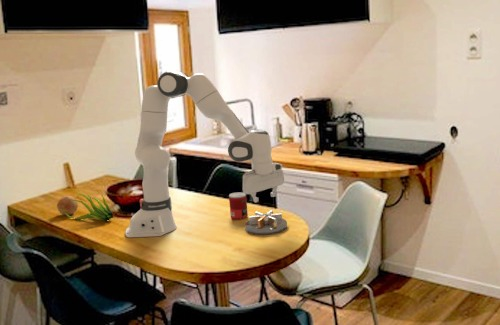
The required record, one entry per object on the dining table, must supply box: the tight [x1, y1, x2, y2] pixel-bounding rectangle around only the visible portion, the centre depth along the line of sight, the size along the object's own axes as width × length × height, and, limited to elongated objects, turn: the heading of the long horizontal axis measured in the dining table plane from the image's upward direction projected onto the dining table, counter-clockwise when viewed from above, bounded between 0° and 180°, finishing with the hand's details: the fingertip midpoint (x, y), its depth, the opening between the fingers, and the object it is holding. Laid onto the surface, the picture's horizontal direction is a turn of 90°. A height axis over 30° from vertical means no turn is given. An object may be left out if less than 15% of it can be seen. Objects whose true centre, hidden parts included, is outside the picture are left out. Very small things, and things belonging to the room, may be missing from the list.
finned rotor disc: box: [248, 209, 283, 228], centre depth 226 cm, size 14×13×4 cm
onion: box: [56, 194, 79, 216], centre depth 266 cm, size 10×10×10 cm
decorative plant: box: [56, 188, 114, 222], centre depth 256 cm, size 18×30×15 cm, turn 39°
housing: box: [244, 217, 288, 236], centre depth 226 cm, size 18×18×4 cm
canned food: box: [228, 191, 249, 221], centre depth 242 cm, size 8×8×11 cm
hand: (264, 199), depth 224 cm, fingers open, 8 cm apart
